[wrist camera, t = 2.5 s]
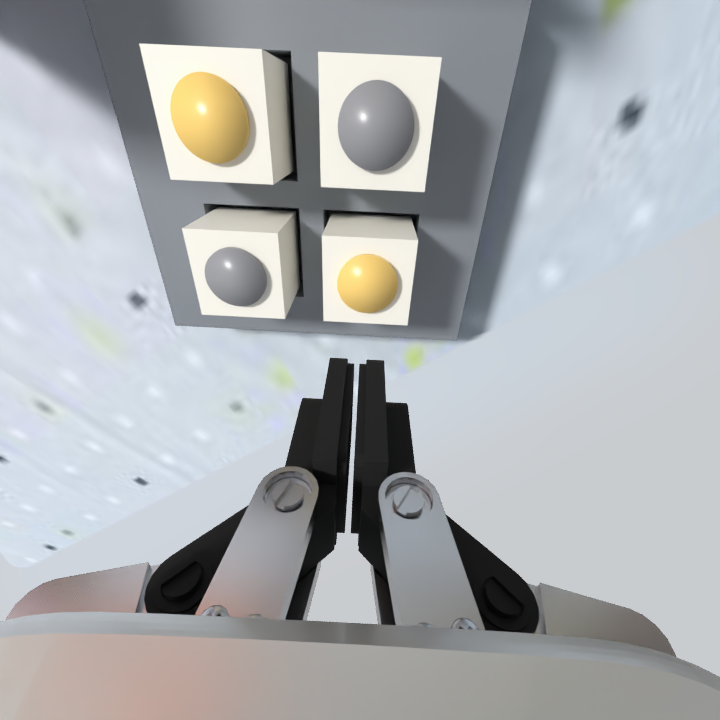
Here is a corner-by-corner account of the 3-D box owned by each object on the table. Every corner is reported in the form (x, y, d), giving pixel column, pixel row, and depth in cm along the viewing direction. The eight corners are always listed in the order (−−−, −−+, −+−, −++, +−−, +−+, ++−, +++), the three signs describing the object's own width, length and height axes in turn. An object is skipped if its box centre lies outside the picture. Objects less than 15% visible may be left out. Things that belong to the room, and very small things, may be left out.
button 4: (410, 216, 22) (418, 242, 18) (402, 290, 25) (407, 328, 20) (332, 212, 22) (321, 237, 18) (332, 286, 25) (322, 323, 20)
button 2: (296, 210, 22) (276, 234, 18) (300, 284, 25) (284, 321, 20) (218, 207, 22) (179, 230, 18) (230, 281, 25) (199, 316, 20)
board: (511, 0, 18) (536, -21, 15) (448, 317, 28) (456, 340, 26) (119, -17, 18) (72, -41, 16) (195, 304, 29) (175, 325, 26)
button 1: (287, 63, 18) (259, 47, 14) (293, 170, 21) (271, 185, 16) (192, 59, 18) (134, 42, 14) (211, 166, 21) (167, 180, 17)
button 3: (427, 70, 18) (442, 56, 14) (415, 176, 21) (425, 193, 16) (331, 65, 18) (316, 50, 14) (331, 172, 21) (319, 188, 16)
